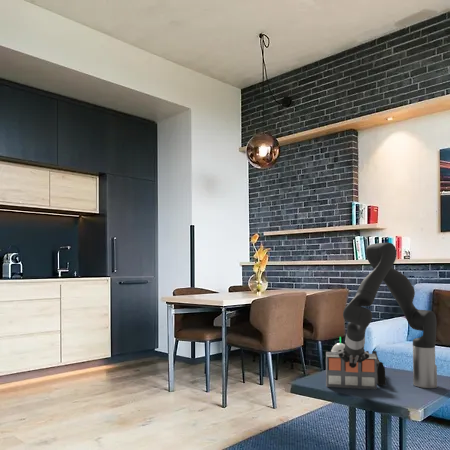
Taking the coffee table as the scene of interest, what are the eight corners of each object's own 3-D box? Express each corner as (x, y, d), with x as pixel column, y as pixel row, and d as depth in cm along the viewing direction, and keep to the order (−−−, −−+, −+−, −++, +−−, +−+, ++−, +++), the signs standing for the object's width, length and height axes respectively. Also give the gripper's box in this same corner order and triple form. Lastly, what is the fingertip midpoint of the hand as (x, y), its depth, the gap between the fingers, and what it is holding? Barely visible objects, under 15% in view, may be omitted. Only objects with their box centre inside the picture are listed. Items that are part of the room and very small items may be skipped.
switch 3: (372, 369, 213) (372, 358, 214) (374, 372, 208) (374, 360, 209) (361, 369, 214) (361, 357, 214) (362, 371, 209) (362, 359, 210)
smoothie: (348, 379, 226) (348, 335, 228) (351, 384, 218) (351, 338, 219) (330, 379, 227) (330, 335, 228) (332, 383, 219) (332, 338, 220)
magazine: (386, 368, 210) (377, 337, 239) (378, 367, 211) (370, 337, 240) (385, 404, 214) (376, 369, 243) (377, 403, 214) (370, 369, 243)
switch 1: (340, 368, 216) (340, 356, 216) (340, 370, 211) (340, 358, 211) (328, 367, 216) (328, 356, 217) (329, 370, 211) (328, 358, 212)
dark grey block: (374, 386, 215) (374, 353, 216) (376, 389, 208) (376, 356, 210) (326, 383, 218) (325, 351, 219) (326, 387, 212) (326, 354, 213)
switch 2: (356, 369, 212) (356, 358, 213) (358, 372, 208) (357, 360, 208) (345, 369, 213) (345, 357, 214) (345, 371, 208) (345, 359, 209)
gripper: (371, 334, 198) (367, 359, 209) (337, 333, 200) (336, 357, 211) (373, 349, 192) (369, 374, 204) (338, 348, 195) (336, 372, 206)
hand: (352, 365), depth 207 cm, fingers closed
